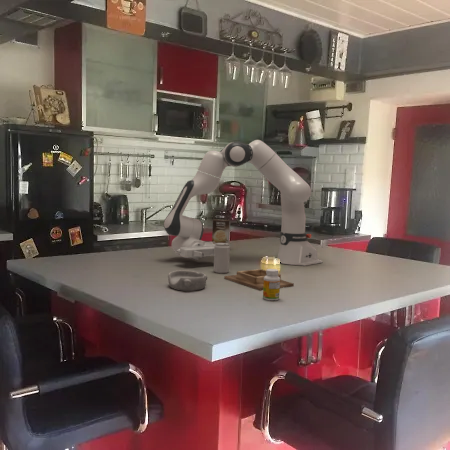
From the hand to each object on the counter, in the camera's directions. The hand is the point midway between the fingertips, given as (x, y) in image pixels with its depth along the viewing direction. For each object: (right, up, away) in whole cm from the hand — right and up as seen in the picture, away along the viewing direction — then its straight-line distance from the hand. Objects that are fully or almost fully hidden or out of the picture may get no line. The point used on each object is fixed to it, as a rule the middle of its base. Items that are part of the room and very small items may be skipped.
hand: (211, 254), depth 216 cm
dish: (-8, -10, -34) cm, 37 cm away
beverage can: (+4, -7, -6) cm, 10 cm away
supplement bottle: (+21, -12, -47) cm, 53 cm away
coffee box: (+3, -1, +55) cm, 55 cm away
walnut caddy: (+18, -9, -22) cm, 30 cm away
